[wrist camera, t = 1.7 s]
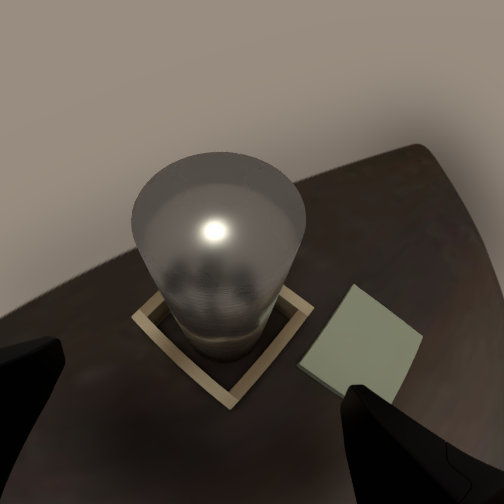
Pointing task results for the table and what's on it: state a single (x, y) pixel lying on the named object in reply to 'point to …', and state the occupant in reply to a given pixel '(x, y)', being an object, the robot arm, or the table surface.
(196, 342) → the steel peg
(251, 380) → the wooden square frame
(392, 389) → the green pad
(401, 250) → the table surface
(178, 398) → the table surface
